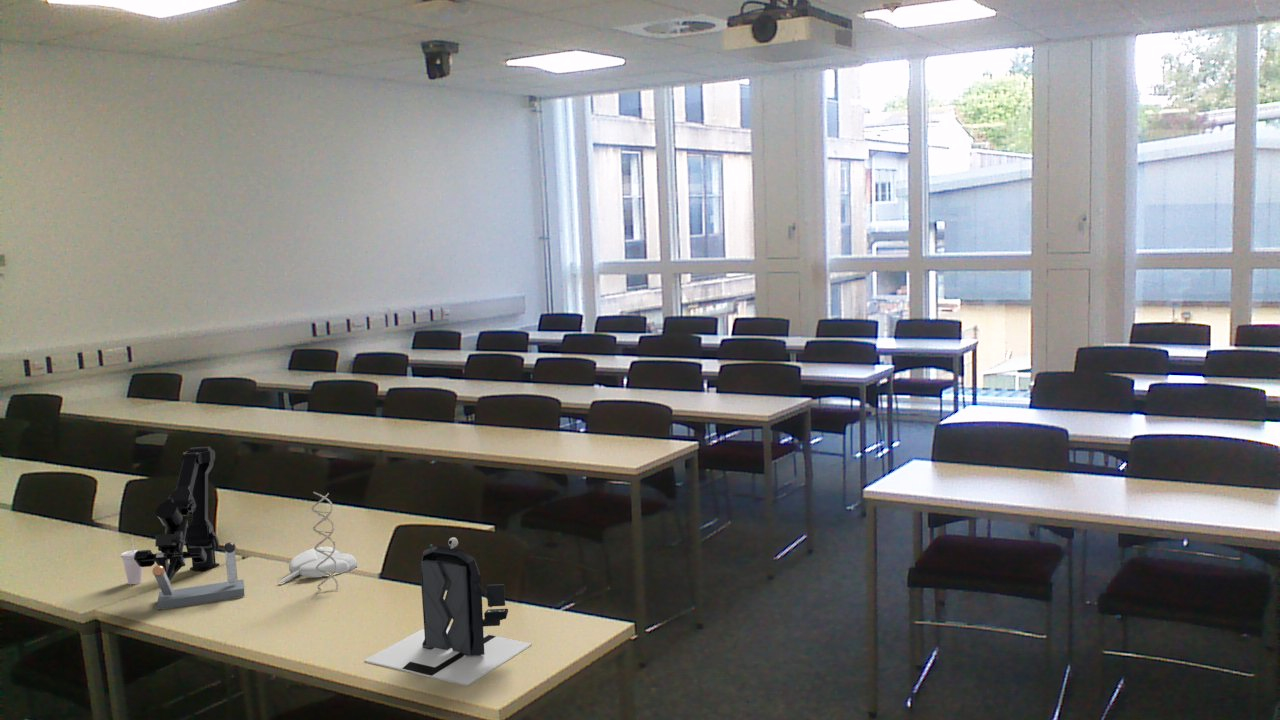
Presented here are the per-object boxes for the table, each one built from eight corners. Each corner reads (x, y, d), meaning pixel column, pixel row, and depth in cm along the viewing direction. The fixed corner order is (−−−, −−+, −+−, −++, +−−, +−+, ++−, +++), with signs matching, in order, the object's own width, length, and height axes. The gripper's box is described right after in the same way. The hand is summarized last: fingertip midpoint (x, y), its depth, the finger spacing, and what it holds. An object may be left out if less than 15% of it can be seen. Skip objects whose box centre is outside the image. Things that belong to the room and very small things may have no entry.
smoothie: (150, 579, 305) (146, 536, 303) (138, 586, 298) (134, 542, 297) (131, 579, 305) (127, 536, 304) (119, 586, 299) (114, 542, 297)
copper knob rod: (164, 588, 282) (152, 563, 274) (175, 588, 283) (164, 562, 275) (161, 598, 280) (149, 572, 272) (173, 597, 280) (161, 571, 272)
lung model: (364, 566, 311) (299, 597, 290) (329, 559, 320) (264, 588, 300) (360, 546, 310) (295, 576, 289) (326, 540, 319) (260, 568, 299)
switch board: (160, 600, 285) (159, 591, 285) (244, 587, 294) (243, 579, 294) (158, 610, 277) (157, 601, 277) (244, 596, 286) (243, 588, 285)
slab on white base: (364, 662, 236) (356, 549, 233) (433, 625, 258) (427, 522, 255) (468, 686, 221) (461, 566, 218) (531, 645, 243) (526, 535, 240)
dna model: (312, 593, 287) (304, 494, 283) (326, 586, 293) (319, 489, 289) (330, 595, 284) (322, 495, 281) (344, 588, 290) (337, 490, 287)
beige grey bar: (225, 582, 289) (222, 542, 287) (236, 579, 291) (233, 540, 289) (228, 584, 286) (225, 544, 285) (239, 582, 288) (236, 542, 287)
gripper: (132, 524, 281) (122, 573, 272) (200, 519, 284) (191, 568, 274) (145, 542, 290) (135, 590, 281) (210, 537, 293) (202, 585, 283)
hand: (165, 583), depth 279 cm, fingers closed, pressing on copper knob rod
